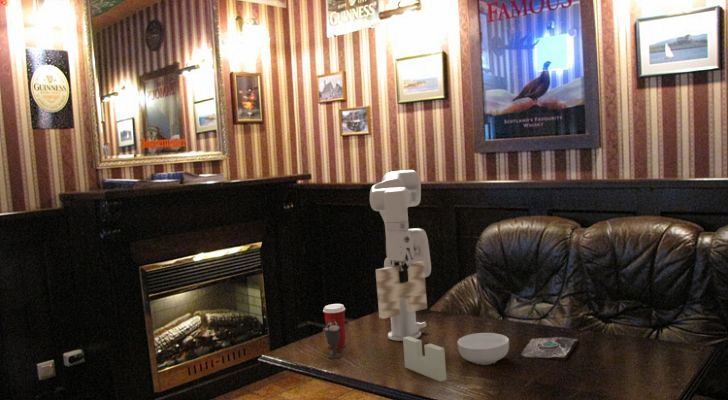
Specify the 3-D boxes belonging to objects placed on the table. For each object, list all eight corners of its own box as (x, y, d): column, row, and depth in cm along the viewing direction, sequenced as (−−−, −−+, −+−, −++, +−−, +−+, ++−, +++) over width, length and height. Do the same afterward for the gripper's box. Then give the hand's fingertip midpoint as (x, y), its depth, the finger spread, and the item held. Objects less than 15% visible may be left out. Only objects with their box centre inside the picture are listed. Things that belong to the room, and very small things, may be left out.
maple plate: (422, 307, 225) (419, 261, 224) (427, 308, 223) (423, 261, 222) (379, 317, 215) (375, 269, 214) (383, 318, 213) (379, 270, 212)
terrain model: (535, 339, 236) (534, 331, 235) (578, 344, 228) (578, 335, 228) (518, 358, 218) (518, 348, 218) (564, 363, 211) (564, 353, 210)
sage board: (410, 365, 218) (408, 336, 217) (446, 379, 203) (444, 348, 202) (405, 367, 216) (402, 337, 215) (440, 381, 201) (438, 350, 200)
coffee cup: (351, 342, 248) (348, 303, 246) (343, 349, 240) (340, 309, 238) (330, 341, 250) (327, 303, 249) (322, 348, 243) (319, 309, 241)
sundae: (341, 359, 229) (338, 317, 228) (323, 359, 230) (319, 317, 229) (346, 353, 235) (342, 312, 234) (328, 353, 237) (324, 312, 235)
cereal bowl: (478, 349, 229) (477, 329, 228) (520, 358, 217) (518, 337, 216) (448, 363, 217) (446, 342, 216) (490, 373, 205) (489, 351, 204)
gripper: (421, 226, 213) (425, 282, 214) (392, 224, 226) (396, 277, 227) (402, 229, 209) (406, 286, 210) (374, 227, 222) (378, 280, 223)
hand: (401, 281), depth 218 cm, fingers closed on maple plate, 2 cm apart
